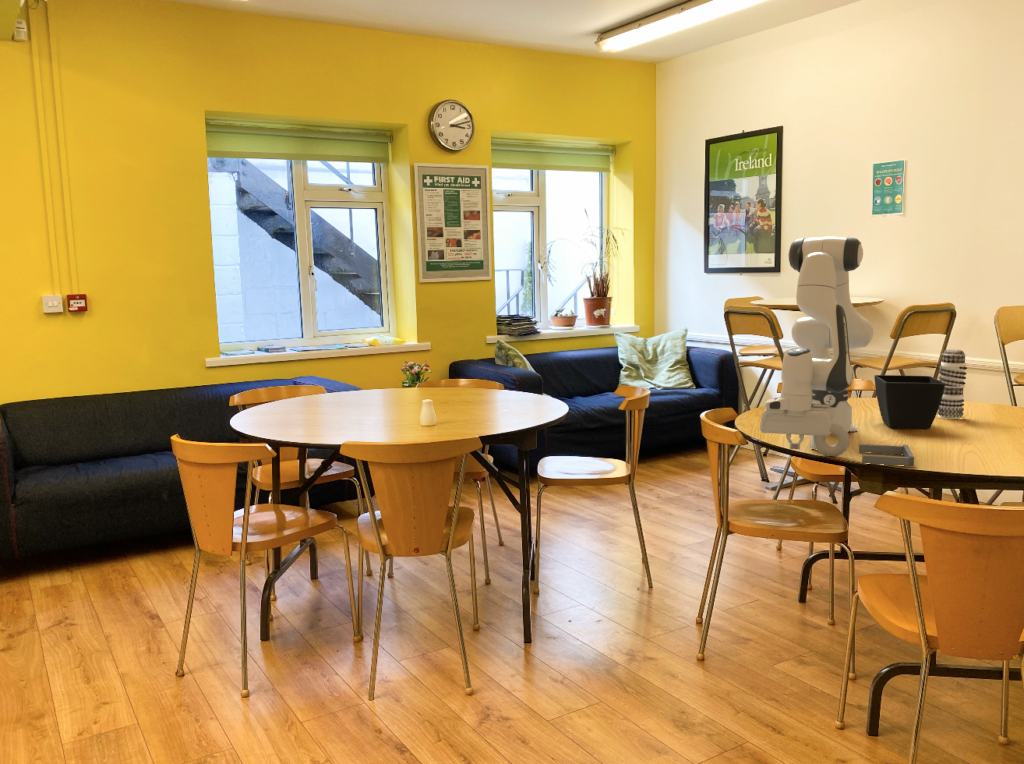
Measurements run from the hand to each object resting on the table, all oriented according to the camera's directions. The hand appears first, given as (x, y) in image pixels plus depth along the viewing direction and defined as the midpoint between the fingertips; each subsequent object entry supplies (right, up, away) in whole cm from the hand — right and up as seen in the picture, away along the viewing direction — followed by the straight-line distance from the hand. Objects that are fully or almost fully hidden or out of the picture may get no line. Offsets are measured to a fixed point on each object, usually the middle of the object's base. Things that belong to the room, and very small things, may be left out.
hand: (794, 448), depth 249 cm
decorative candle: (+77, +7, +59) cm, 98 cm away
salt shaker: (+9, -1, +6) cm, 11 cm away
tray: (+23, -2, -8) cm, 25 cm away
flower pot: (+54, +4, +43) cm, 69 cm away
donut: (+9, -2, -4) cm, 10 cm away
